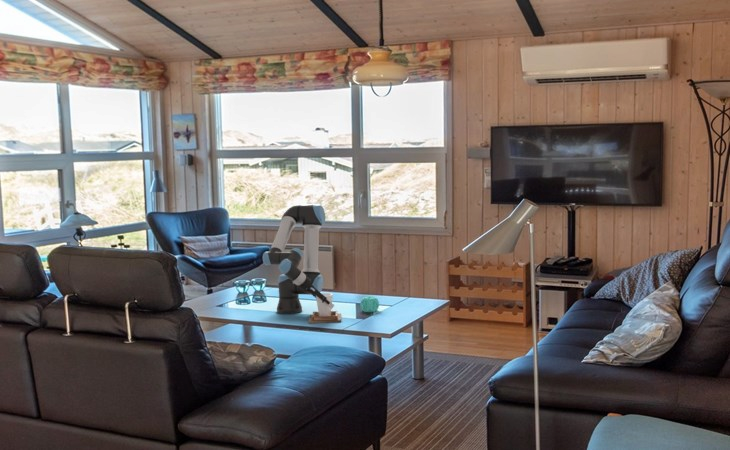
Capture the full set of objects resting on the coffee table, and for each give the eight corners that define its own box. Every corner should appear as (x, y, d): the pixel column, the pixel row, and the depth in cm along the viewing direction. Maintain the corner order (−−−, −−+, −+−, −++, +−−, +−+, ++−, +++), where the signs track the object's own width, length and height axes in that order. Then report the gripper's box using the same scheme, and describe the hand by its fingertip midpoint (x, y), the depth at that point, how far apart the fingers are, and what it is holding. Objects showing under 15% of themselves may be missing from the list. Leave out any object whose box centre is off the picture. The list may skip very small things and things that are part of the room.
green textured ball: (379, 310, 443) (379, 297, 442) (370, 312, 437) (370, 299, 436) (369, 309, 448) (368, 296, 447) (360, 311, 442) (359, 298, 441)
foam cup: (320, 315, 428) (319, 292, 427) (335, 315, 425) (334, 293, 424) (314, 318, 420) (313, 295, 418) (329, 319, 417) (328, 296, 415)
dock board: (309, 316, 431) (309, 311, 431) (341, 315, 432) (340, 310, 432) (308, 323, 413) (308, 317, 413) (341, 322, 414) (340, 316, 414)
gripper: (291, 283, 426) (318, 307, 433) (303, 289, 404) (331, 314, 411) (300, 273, 428) (326, 297, 435) (312, 278, 406) (340, 303, 413)
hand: (329, 305), depth 423 cm, fingers open, 11 cm apart
